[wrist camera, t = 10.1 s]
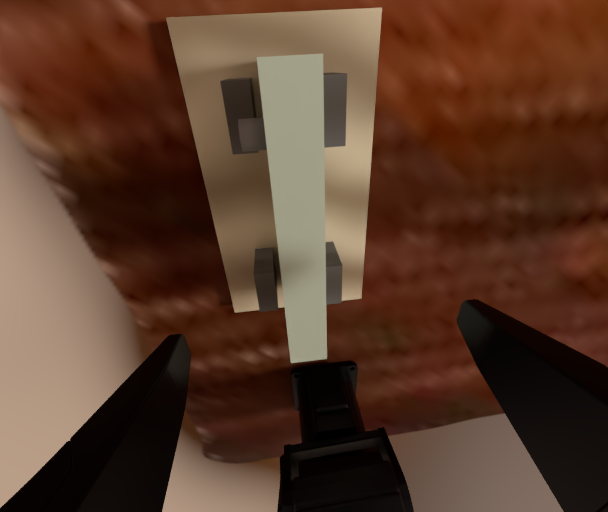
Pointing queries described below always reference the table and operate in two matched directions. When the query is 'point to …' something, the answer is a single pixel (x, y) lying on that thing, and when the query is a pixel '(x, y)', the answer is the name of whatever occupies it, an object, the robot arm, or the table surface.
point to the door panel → (296, 190)
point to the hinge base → (254, 164)
